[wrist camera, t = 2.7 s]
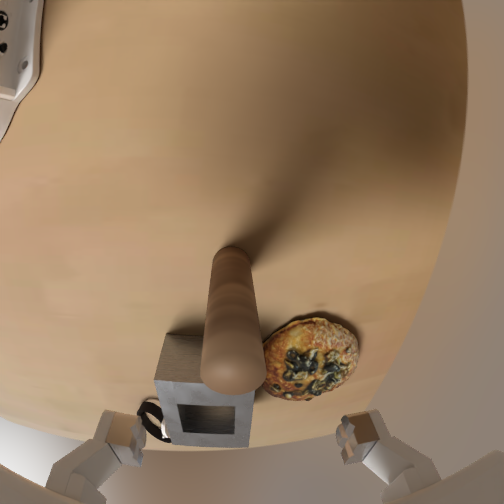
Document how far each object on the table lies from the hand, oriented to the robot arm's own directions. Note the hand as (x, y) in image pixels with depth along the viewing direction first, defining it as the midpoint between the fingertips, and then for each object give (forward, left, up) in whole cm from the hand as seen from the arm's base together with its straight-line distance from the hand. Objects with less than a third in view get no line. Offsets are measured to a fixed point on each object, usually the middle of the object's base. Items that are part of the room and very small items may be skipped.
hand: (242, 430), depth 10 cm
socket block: (+13, -2, -15) cm, 20 cm away
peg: (0, 0, -15) cm, 15 cm away
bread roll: (+10, +8, -15) cm, 20 cm away
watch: (+22, -9, -15) cm, 28 cm away
